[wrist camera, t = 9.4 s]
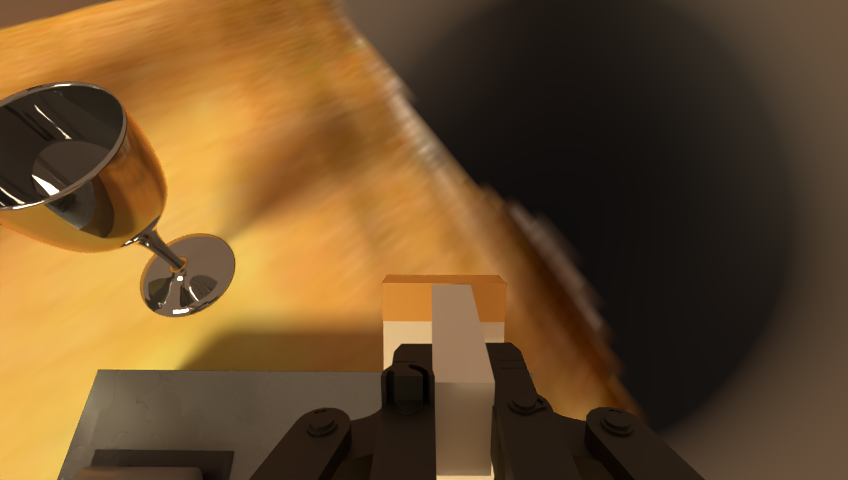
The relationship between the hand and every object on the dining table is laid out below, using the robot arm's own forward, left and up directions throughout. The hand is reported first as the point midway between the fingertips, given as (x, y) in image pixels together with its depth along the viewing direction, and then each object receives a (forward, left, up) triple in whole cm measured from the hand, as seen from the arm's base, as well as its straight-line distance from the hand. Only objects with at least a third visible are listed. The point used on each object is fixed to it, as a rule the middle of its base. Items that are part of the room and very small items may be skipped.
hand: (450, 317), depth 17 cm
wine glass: (-17, -12, -14) cm, 26 cm away
